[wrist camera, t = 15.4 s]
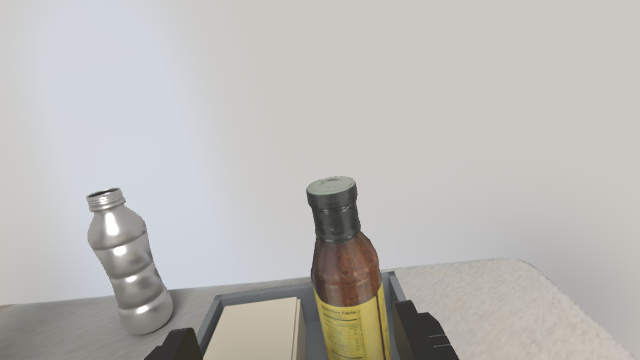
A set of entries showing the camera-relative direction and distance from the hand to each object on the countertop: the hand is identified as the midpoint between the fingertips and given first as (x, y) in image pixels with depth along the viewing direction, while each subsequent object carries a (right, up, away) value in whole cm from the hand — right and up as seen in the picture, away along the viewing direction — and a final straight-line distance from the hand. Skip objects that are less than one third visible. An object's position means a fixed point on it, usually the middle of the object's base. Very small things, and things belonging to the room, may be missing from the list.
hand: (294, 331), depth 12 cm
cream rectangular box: (-5, -14, +18) cm, 24 cm away
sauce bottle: (+5, -13, +18) cm, 23 cm away
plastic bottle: (-23, -15, +31) cm, 41 cm away
